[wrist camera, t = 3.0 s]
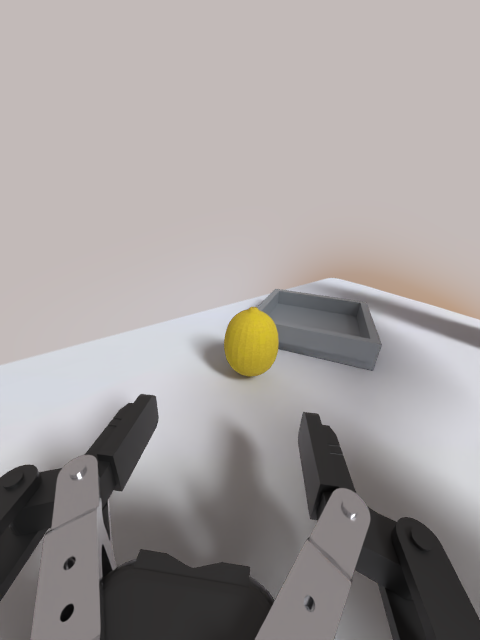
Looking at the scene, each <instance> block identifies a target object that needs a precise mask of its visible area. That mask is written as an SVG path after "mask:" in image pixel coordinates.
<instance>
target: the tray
mask: <svg viewBox="0 0 480 640" xmlns="http://www.w3.org/2000/svg"><path fill="white" fill-rule="evenodd" d="M257 308H258V310H260V311H263V312H264V313H266V314H267V315H268V316H269V317H270V318H271V319H272V320H273V321H274V323H275V325H276V328H277V332H278V339H279V344H278V349H282V350H286V351H290V352H295V353H299V354H303V355H308V356H312V357H316V358H321V359H325V360H329V361H333V362H338V363H342V364H346V365H351V366H355V367H359V368H364V369H368V370H372V371H373V369H374V366H375V363H376V360H377V357H378V354H379V351H380V348H381V345H382V344H381V341H380V339H379V336H378V333H377V330H376V327H375V325H374V322H373V319H372V316H371V313H370V311H369V308H368V305H367V302H362V301H356V300H349V299H342V298H335V297H328V296H321V295H314V294H308V293H301V292H294V291H287V290H280V289H275V290H274V291H273V292H272V293H271V294H270V295H269V296H268V297H267V298H266V299H265V300H264V301H263V302H262V303H261V304H260V305H259V306H258V307H257Z"/></svg>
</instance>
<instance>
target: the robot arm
mask: <svg viewBox="0 0 480 640" xmlns="http://www.w3.org/2000/svg"><path fill="white" fill-rule="evenodd" d="M157 423H158V409H157V401H156V396H154V395H145V394H141V395H139V396H138V398H137V399H136V400H135V402H134V403H128V404H127V405H126V406H124V407H123V408H122V409H120V410H119V412H118V413H117V414H116V415H115V417H114V418H113V420H112V421H111V422H110V423H109V424H108V427H106V428H105V429H104V431H103V432H102V433H101V435H100V436H99V437H98V438H97V440H96V441H95V442H94V444H93V445H92V446H91V447H90V449H89V450H88V451H87V453H86V454H85V455H83V456H79V457H77V458H75V459H73V460H71V461H70V462H68V463H67V464H66V465H65V466H64V467H63V468H60V469H55V470H50V471H44V472H38V470H37V468H36V467H35V466H34V465H23V466H19V467H17V468H14V469H12V470H11V471H9V472H7V473H6V474H4V475H3V476H2V477H0V601H1V600H2V598H3V596H4V595H5V593H6V592H7V590H8V589H9V587H10V586H11V584H12V583H13V581H14V580H15V578H16V577H17V575H18V574H19V572H20V571H21V569H22V568H23V566H24V565H25V563H26V562H27V560H28V559H29V557H30V556H31V554H32V552H33V551H34V549H35V548H36V546H37V545H38V543H39V542H40V540H41V539H42V537H43V536H44V534H45V533H46V531H47V530H48V529H49V528H51V530H50V531H48V532H47V533H46V535H45V537H44V542H43V548H42V556H41V564H40V571H39V579H38V586H37V594H36V601H35V609H34V616H33V624H32V631H31V639H30V640H334V637H335V634H336V631H337V628H338V625H339V621H340V618H341V615H342V612H343V609H344V606H345V603H346V600H347V597H348V594H349V590H350V587H351V583H352V576H353V573H354V570H356V571H358V572H359V573H361V574H363V575H364V576H366V577H368V578H370V579H371V580H373V581H375V582H377V583H378V586H379V590H380V593H381V597H382V600H383V604H384V608H385V611H386V615H387V619H388V622H389V626H390V630H391V633H392V637H393V640H480V620H479V618H478V616H477V614H476V612H475V610H474V608H473V606H472V604H471V602H470V600H469V598H468V596H467V594H466V592H465V590H464V588H463V586H462V584H461V582H460V580H459V578H458V576H457V574H456V572H455V570H454V568H453V566H452V564H451V562H450V560H449V559H448V557H447V555H446V553H445V551H444V549H443V547H442V545H441V543H440V541H439V540H438V539H437V537H436V536H435V535H434V534H433V532H432V531H431V530H430V529H428V528H427V527H426V526H425V525H424V524H422V523H421V522H419V521H417V520H415V519H413V518H408V517H403V518H400V519H399V520H398V522H395V521H393V520H391V519H389V518H387V517H385V516H383V515H381V514H378V513H377V512H375V511H373V510H372V509H370V508H369V507H368V506H367V505H366V504H365V502H364V501H363V500H362V498H361V497H360V496H359V495H357V493H356V491H355V489H354V486H353V483H352V480H351V477H350V474H349V471H348V468H347V465H346V462H345V459H344V457H343V455H342V451H341V448H340V445H339V442H338V439H337V436H336V434H335V433H334V432H333V430H332V429H331V428H330V426H326V425H322V424H321V420H320V417H319V414H316V413H307V412H303V414H302V419H301V424H300V429H299V435H298V444H299V451H300V458H301V464H302V471H303V477H304V483H305V490H306V496H307V503H308V509H309V516H310V519H313V520H318V522H317V524H316V526H315V528H314V530H313V532H312V534H311V536H310V537H309V538H308V539H307V540H306V542H305V544H304V545H303V547H302V549H301V551H300V553H299V555H298V557H297V559H296V561H295V563H294V565H293V567H292V569H291V570H290V572H289V574H288V576H287V578H286V580H285V582H284V584H283V586H282V588H281V590H280V592H279V594H278V596H277V598H276V599H275V600H274V599H273V597H272V596H271V595H270V594H269V592H268V591H267V590H266V589H265V588H264V587H263V586H262V585H261V584H260V583H259V582H257V581H256V580H255V579H253V578H251V577H250V576H249V574H250V567H248V566H242V565H236V564H229V563H223V562H222V563H217V564H212V565H207V566H202V567H197V568H191V567H189V566H187V565H185V564H184V563H182V562H180V561H178V560H177V559H175V558H173V557H172V556H170V555H168V554H167V553H160V552H154V551H148V550H142V549H140V552H139V554H138V557H137V559H136V560H132V561H129V562H126V563H124V564H122V565H120V566H119V567H117V568H116V562H115V556H114V551H113V543H112V531H111V518H110V506H109V497H110V495H111V494H112V492H113V490H116V491H123V489H124V487H125V485H126V483H127V481H128V479H129V478H130V476H131V474H132V472H133V470H134V468H135V466H136V464H137V463H138V461H139V459H140V457H141V455H142V453H143V451H144V449H145V447H146V446H147V444H148V442H149V440H150V438H151V436H152V434H153V432H154V431H155V429H156V426H157Z"/></svg>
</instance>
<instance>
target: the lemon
mask: <svg viewBox="0 0 480 640" xmlns="http://www.w3.org/2000/svg"><path fill="white" fill-rule="evenodd" d="M278 344H279V339H278V332H277V328H276V325H275V323H274V321H273V320H272V319H271V318H270V317H269V316H268V315H267V314H266V313H264V312H263V311H260V310H258V308H256V307H250V308H249V309H248V310H244V311H242V312H240V313H238V314H237V315H235V316H234V317H233V318H232V320H231V321H230V323H229V325H228V327H227V331H226V334H225V339H224V350H225V355H226V359H227V361H228V363H229V364H230V366H231V367H232V368H233V369H234V370H235V371H236V372H238V373H239V374H241V375H245V376H248V377H250V376H257V375H260V374H262V373H264V372H266V371H267V370H268V369H269V368H270V367H271V366H272V364H273V363H274V361H275V359H276V356H277V352H278Z"/></svg>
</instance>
